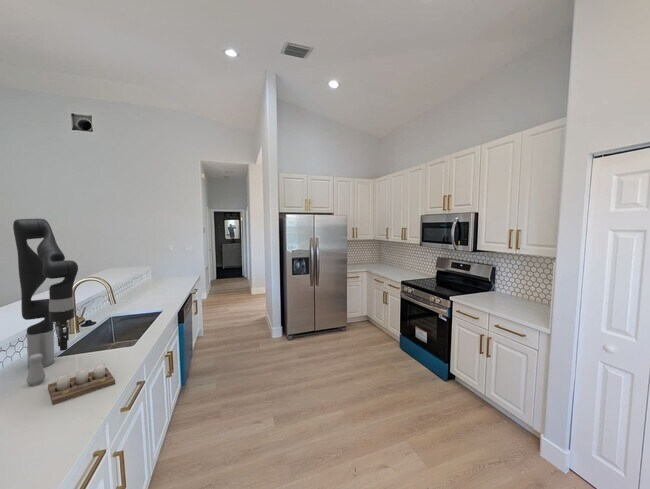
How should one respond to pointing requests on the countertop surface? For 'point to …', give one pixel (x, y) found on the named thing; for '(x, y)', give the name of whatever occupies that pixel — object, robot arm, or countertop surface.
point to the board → (80, 387)
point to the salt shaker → (35, 370)
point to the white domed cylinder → (63, 381)
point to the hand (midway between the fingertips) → (62, 347)
